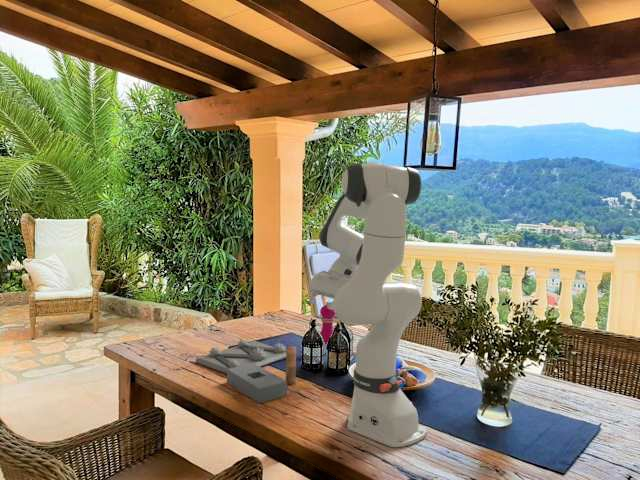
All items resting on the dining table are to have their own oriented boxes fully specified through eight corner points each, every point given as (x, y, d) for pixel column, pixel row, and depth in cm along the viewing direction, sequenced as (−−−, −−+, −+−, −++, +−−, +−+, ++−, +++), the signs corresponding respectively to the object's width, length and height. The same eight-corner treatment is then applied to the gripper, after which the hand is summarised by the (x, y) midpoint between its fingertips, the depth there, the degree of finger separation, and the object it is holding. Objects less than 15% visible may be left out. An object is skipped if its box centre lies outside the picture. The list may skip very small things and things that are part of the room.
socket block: (286, 395, 158) (287, 381, 157) (259, 403, 151) (259, 388, 151) (253, 375, 173) (253, 363, 173) (227, 382, 167) (227, 369, 166)
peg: (297, 383, 168) (298, 347, 167) (289, 385, 166) (290, 349, 165) (291, 380, 170) (292, 345, 169) (283, 382, 168) (284, 346, 167)
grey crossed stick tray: (254, 345, 208) (254, 328, 207) (293, 358, 194) (293, 339, 194) (193, 364, 185) (194, 345, 184) (233, 379, 171) (233, 358, 170)
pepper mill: (334, 354, 198) (335, 304, 196) (315, 352, 199) (317, 302, 197) (337, 348, 205) (338, 300, 203) (319, 347, 206) (321, 298, 204)
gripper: (316, 264, 186) (295, 294, 180) (357, 273, 171) (336, 306, 165) (324, 275, 189) (304, 305, 184) (366, 284, 174) (345, 317, 169)
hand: (319, 305), depth 174 cm, fingers open, 8 cm apart
